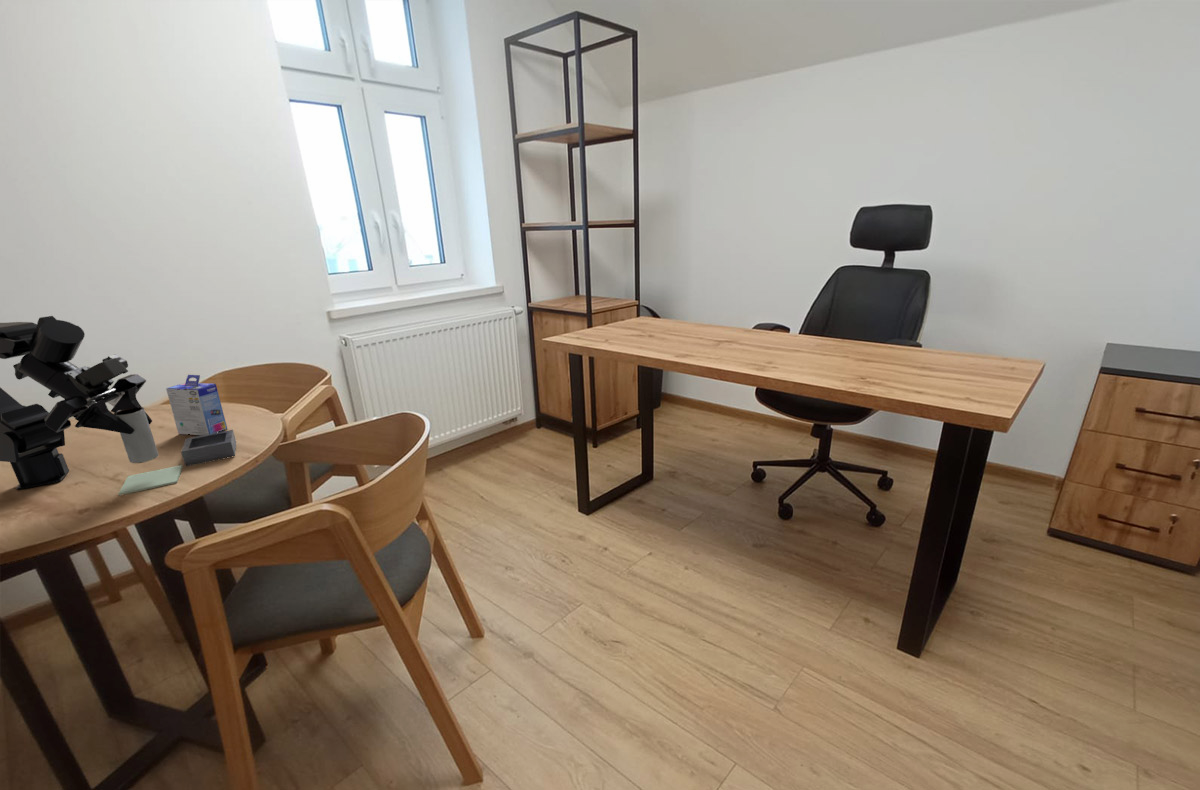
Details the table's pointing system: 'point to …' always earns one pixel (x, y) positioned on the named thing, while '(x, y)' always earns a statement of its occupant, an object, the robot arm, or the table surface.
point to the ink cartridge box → (196, 407)
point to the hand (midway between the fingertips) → (142, 427)
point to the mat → (151, 479)
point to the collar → (208, 447)
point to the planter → (137, 435)
